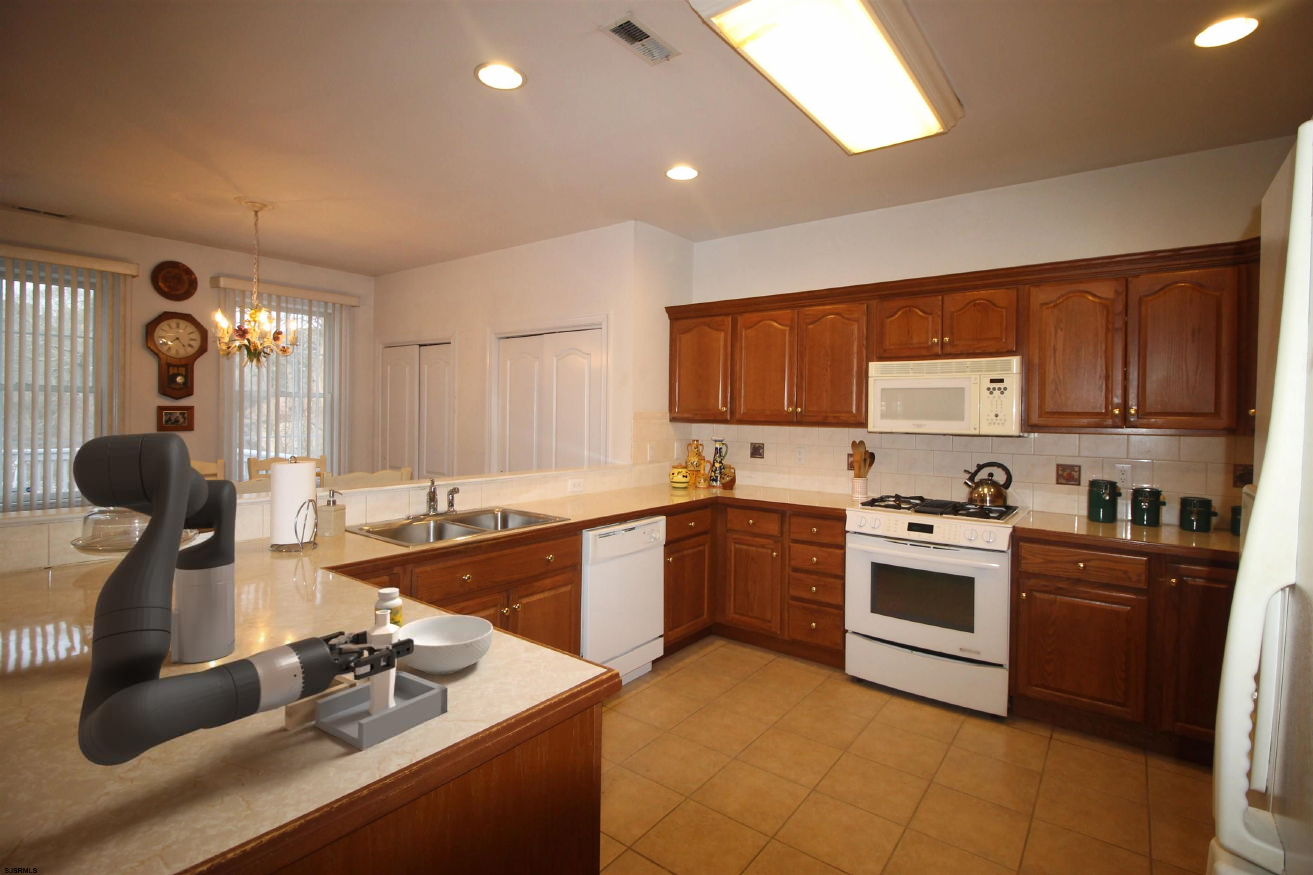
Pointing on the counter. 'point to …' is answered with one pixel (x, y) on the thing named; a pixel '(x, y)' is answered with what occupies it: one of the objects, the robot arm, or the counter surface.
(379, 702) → the white faceted bottle
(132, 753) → the robot arm
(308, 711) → the oak holder
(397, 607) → the supplement bottle
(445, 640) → the cereal bowl
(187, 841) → the counter surface
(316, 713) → the grey tray
